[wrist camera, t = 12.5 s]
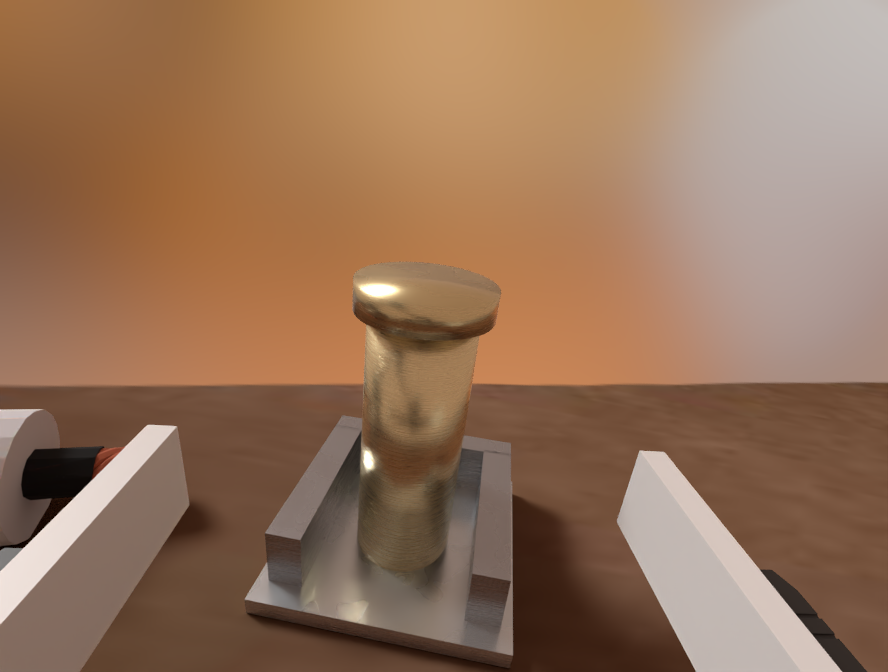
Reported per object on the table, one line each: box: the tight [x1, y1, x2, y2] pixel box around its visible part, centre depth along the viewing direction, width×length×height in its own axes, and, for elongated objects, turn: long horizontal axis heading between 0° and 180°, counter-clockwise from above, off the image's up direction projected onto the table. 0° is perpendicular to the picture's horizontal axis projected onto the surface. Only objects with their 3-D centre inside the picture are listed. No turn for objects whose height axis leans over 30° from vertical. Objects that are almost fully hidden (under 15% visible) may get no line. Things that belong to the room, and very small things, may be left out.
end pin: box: [353, 262, 501, 572], centre depth 19 cm, size 6×6×13 cm
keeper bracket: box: [245, 416, 513, 669], centre depth 22 cm, size 11×10×4 cm
